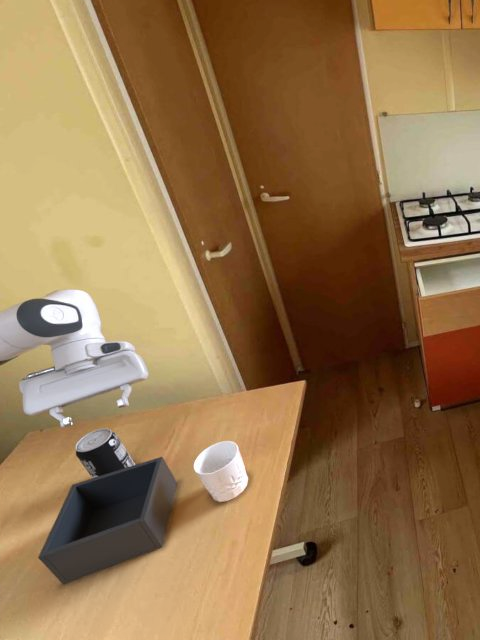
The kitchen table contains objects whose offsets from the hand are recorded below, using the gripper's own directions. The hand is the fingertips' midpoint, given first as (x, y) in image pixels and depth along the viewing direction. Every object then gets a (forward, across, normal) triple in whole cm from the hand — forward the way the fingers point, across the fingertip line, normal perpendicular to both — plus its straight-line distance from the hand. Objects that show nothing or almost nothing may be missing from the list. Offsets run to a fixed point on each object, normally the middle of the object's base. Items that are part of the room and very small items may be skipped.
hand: (96, 416), depth 93 cm
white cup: (+26, +20, -9) cm, 34 cm away
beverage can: (+14, 0, +4) cm, 14 cm away
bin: (+25, +2, -7) cm, 26 cm away
